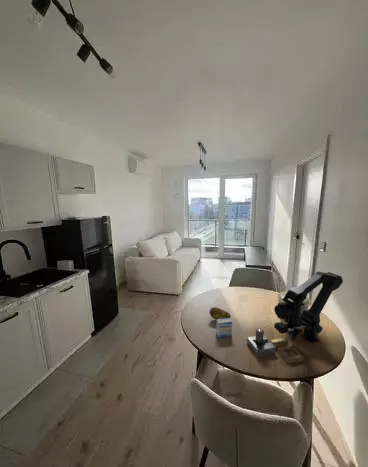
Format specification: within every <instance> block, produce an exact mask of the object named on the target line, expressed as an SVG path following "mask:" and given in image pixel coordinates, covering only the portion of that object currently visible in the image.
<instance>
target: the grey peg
mask: <svg viewBox="0 0 368 467" xmlns="http://www.w3.org/2000/svg"><path fill="white" fill-rule="evenodd" d="M264 333H265V332H264V330H263V328H261V327H260V328H259V327H258V328H257V329H256V330H255V336H256V343H255V344H256V345H257V346H263V335H265V334H264Z"/></svg>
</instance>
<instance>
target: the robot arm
mask: <svg viewBox="0 0 368 467" xmlns="http://www.w3.org/2000/svg"><path fill="white" fill-rule="evenodd" d="M343 282H344V280H343V277H342V276H341V275H339V274H336V273H333V272H330V271H328V272H323V271H316V272H315V273H314V275H313V276H312V277H310V278H309V279H307V280H306V281H304V282H303V283H302V284H300V285H297V286H293V287H292V288H290V289H288V292H287V294H286V295H285V297H284V298H283V300H282V301H284V303H278V302H277V304H276V305H275V306H274V309H273V310H274V314H275V315H276V317H277V318H278V319H279V320H280V319H282V320H284V322H286V323H287V324H283V323H282V322H281V321H280V322H275V323H274V325H273V326H274V327H273V328H274V329H275V330H276V331H278V332H279V333H280V334H287V333H288V337H289V340H290V341H291V342H293V341H294V340H295V339H296V338H297V337H298V336H299V335H300V334H301V333H302V332H303V334H301V335H300V336H301V337H302V338H304V339H305V340H306V341H307V342H308V341H309V342H308V343H310V342H312V343H316V341H318V342H320V341H321V340H320V338H319V337H318V336H319V334H321V332H322V331H323V329H324V328H323V327H322V326H321V325H320V322H321V316H320V315H321V313H322V311H323V309H324V308H325V306H326V303H327V302H328V300H329V299H330V296H331V295H332V293H333V291H336V290H338V289H339V288H340V286H342V284H343ZM321 284H322V286H321V287H320V290H319V292H318V294H317V295H316V297H315V299H314V301H313V302H312V304H311V306H310V308H308V310H307V311H306V310H304V311H303V313H302V315H301V317H300V312H301V306H303V305H305V304H304V303H303V301H304V300H305V299H306V298H308V295H309V294H310V293H311V292H312V291H313V290H314V289H316V288H317V287H318V286H320V285H321ZM288 299H291V300H292V301H293V302H291V301H290V300H288ZM303 327H304V328H303ZM301 328H303V329H301Z"/></svg>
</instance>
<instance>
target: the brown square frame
mask: <svg viewBox="0 0 368 467" xmlns="http://www.w3.org/2000/svg"><path fill="white" fill-rule="evenodd" d="M277 352H278V354H279V355H280V356H281V357H282V359H284V360H285V362H286V363H287V364H293V363H297V362H303V361H304V355H302V354H301V353H300V352H299V351H298V350H297V349H296V348H295V347H294V346H293V345H288V346H280V347H277Z"/></svg>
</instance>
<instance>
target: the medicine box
mask: <svg viewBox="0 0 368 467" xmlns="http://www.w3.org/2000/svg"><path fill="white" fill-rule="evenodd" d="M215 321H216V323H215V324H216V327H215V329H216V330H215V333H216V335H217V337H218V338H224V337H230V336H232V334H233V321H232V320H231V317H230V318H225V319H217V320H216V319H215Z"/></svg>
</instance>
